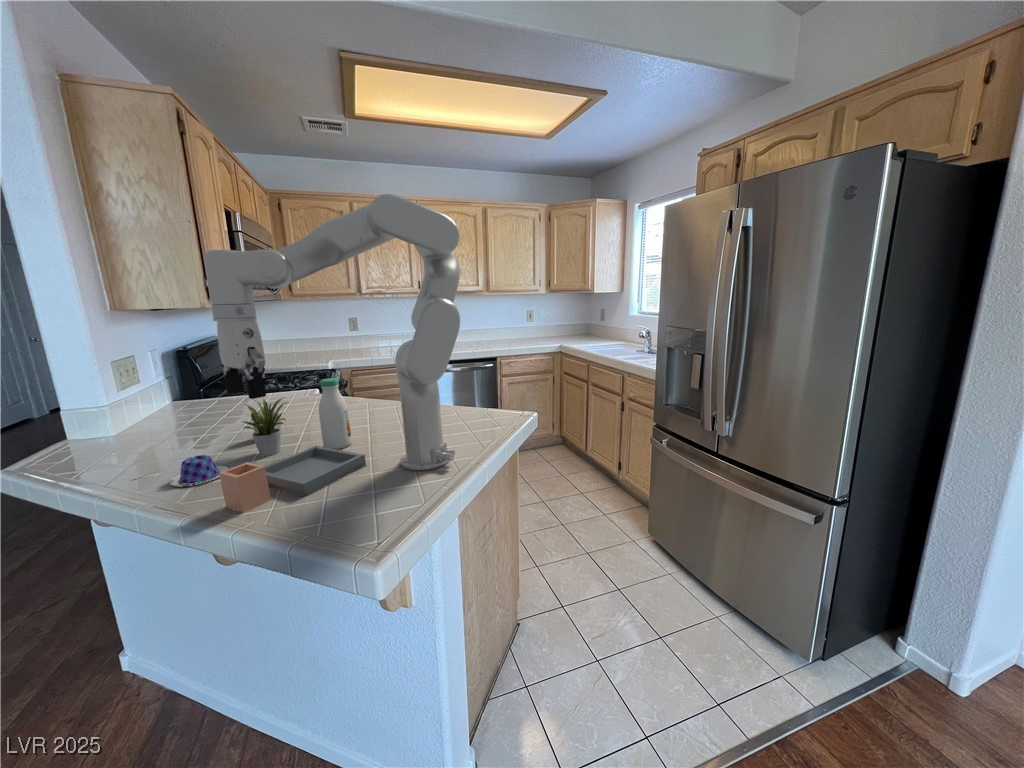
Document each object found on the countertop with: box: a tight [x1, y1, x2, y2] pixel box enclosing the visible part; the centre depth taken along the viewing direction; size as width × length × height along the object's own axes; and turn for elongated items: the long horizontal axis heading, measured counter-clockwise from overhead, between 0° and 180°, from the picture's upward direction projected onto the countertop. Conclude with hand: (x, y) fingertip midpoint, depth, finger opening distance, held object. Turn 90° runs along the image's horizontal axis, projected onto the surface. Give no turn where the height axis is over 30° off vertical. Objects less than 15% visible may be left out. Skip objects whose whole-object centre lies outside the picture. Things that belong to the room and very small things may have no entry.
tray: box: [264, 445, 367, 497], centre depth 105 cm, size 18×18×3 cm
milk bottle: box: [318, 377, 353, 450], centre depth 122 cm, size 8×8×20 cm
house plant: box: [235, 396, 289, 457], centre depth 120 cm, size 14×14×16 cm
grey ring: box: [252, 405, 283, 433], centre depth 134 cm, size 10×4×10 cm, turn 165°
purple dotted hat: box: [169, 454, 229, 488], centre depth 105 cm, size 12×12×5 cm
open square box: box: [218, 461, 272, 514], centre depth 90 cm, size 6×6×8 cm
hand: (246, 394), depth 90 cm, fingers open, 9 cm apart
